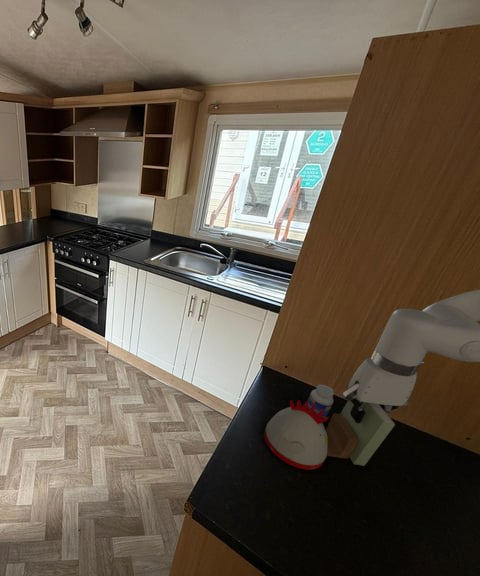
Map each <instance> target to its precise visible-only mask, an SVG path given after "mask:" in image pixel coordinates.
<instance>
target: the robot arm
mask: <svg viewBox="0 0 480 576" xmlns="http://www.w3.org/2000/svg"><path fill="white" fill-rule="evenodd" d="M479 321H480V289H476V290H475V289H474V290H471V291H466V292H462V293H459V294H457V295H454V296H451V297H448V298H445V299H442V300H439V301H437V302H434V303H432V304H431V305H429V306H427V307H425V308H423V309H422V310H419V309H415V308H399V309H396V310H394V311H393V312H392V314H391V315H390V316H389V319H388V322H387V323H386V326H385V328H384V329H383V331H382V334H381V336H380V338H379V340H378V342H377V344H376V347H375V348H374V350H373V353H372V355H371V357H370V358H365V359H364V360H363V362H362V363H361V364H360V365H359V366H358V368H357V369H356V371H355V372H354V374H353V375H352V377H351V379H350V380H349V382H348V386H347V388H348V389H346V390H345V391H344V392H342V394H341V395H342V396H343V397H344V399H345V400H347V401H348V400H349V401H351V402H352V403H353V404H354V405H353V408H352V410H351V412H350V415H351V416H352V418H353V419H354V420H355V422H356V423H361V421H362V419H363V417H364V415H365V411H364V409H365V408H366V407H367V405H368V404H369V403H375V404H379V405H380V406H381V408H382V409H383V410H384V411H385V413H386V414H387V415H389V414H390V413H391V411H394V410H397V409H398V408H402V407H407V406H409V399H410V397H411V395H412V392H413V390H414V388H415V384H416V381H417V377H418V372H417V371H418V369H419V367H420V366H424V365H425V361H424V358H425V357H426V355H427V353H433V354H436V355H440V356H443V357H446V358H449V359H451V360H456V361H460V362H467V363H480V323H479ZM356 394H357V395H356ZM355 395H356V396H355ZM354 396H355V397H354ZM360 401H362V402H361V403H360Z"/></svg>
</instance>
